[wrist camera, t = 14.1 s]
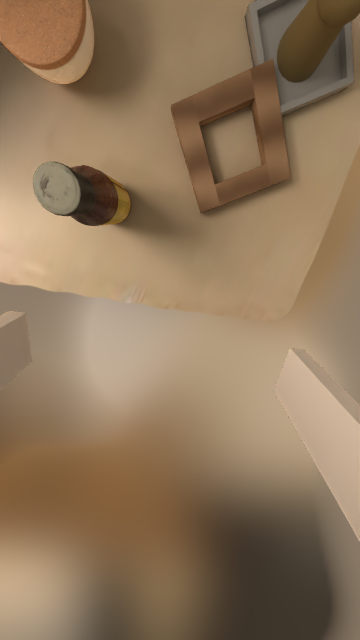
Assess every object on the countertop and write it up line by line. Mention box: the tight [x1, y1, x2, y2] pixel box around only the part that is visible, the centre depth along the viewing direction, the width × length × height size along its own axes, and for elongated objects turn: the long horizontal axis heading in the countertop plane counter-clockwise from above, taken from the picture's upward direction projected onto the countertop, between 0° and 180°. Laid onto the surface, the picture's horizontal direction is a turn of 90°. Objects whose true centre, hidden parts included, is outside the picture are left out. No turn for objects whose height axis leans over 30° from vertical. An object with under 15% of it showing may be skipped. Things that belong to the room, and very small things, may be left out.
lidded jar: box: [0, 0, 94, 84], centre depth 26 cm, size 11×11×9 cm
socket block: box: [171, 59, 290, 213], centre depth 33 cm, size 14×14×2 cm
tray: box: [245, 0, 354, 116], centre depth 30 cm, size 12×12×2 cm
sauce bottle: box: [33, 162, 131, 226], centre depth 28 cm, size 6×6×20 cm
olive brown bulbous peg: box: [277, 0, 360, 83], centre depth 25 cm, size 6×6×11 cm
